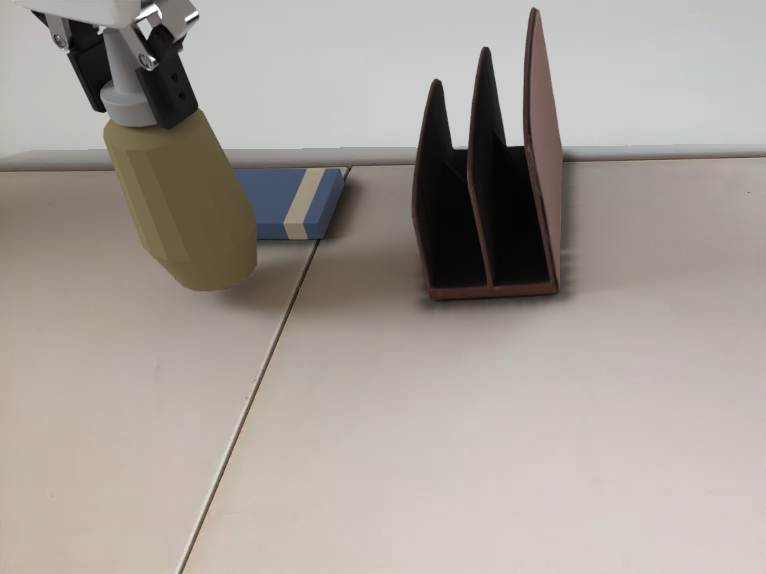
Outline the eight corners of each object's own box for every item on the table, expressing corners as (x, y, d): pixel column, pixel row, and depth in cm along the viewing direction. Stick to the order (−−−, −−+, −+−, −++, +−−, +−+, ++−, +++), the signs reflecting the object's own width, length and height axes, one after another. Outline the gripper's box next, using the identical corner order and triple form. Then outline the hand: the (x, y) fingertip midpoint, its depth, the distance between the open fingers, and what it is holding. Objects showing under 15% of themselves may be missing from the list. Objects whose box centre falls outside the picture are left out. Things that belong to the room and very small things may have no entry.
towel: (204, 184, 91) (198, 168, 90) (345, 184, 91) (340, 167, 90) (174, 240, 86) (167, 223, 85) (323, 239, 86) (318, 223, 85)
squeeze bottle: (139, 295, 79) (14, 53, 65) (198, 232, 84) (94, -5, 70) (238, 310, 78) (132, 68, 64) (292, 246, 83) (204, 8, 69)
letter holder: (563, 155, 94) (543, -10, 83) (561, 296, 81) (536, 122, 71) (449, 161, 94) (413, -5, 83) (428, 303, 81) (383, 129, 70)
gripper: (-171, -212, 57) (7, 113, 71) (76, -170, 53) (213, 166, 67) (-56, -251, 61) (90, 62, 75) (180, -216, 57) (288, 109, 71)
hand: (146, 108), depth 71 cm, fingers closed on squeeze bottle, 4 cm apart
